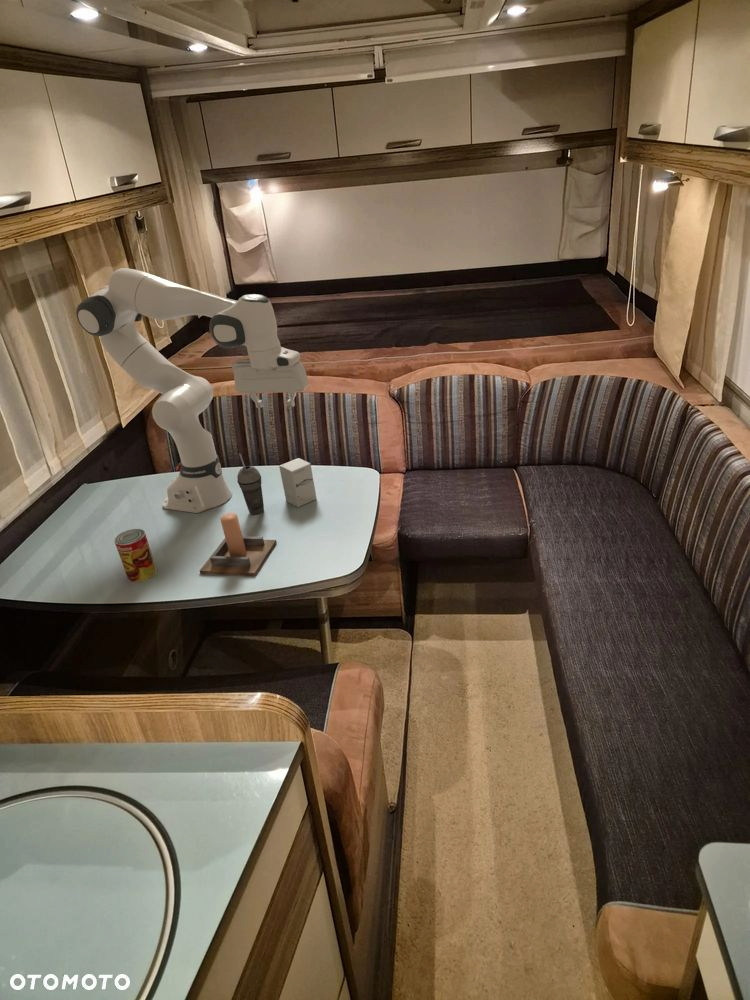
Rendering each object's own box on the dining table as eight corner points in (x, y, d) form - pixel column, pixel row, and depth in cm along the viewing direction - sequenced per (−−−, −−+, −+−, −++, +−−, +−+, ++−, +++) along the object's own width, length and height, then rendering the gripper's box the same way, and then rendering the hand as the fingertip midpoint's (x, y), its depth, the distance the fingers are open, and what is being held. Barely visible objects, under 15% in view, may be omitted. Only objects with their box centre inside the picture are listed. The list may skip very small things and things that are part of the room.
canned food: (122, 575, 175) (108, 538, 169) (148, 562, 179) (135, 525, 174) (136, 585, 170) (123, 547, 164) (162, 571, 174) (150, 533, 169)
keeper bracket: (200, 573, 171) (197, 563, 169) (225, 541, 185) (222, 531, 183) (255, 576, 167) (252, 565, 165) (276, 542, 181) (274, 532, 179)
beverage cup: (263, 518, 194) (250, 458, 185) (241, 518, 196) (227, 459, 186) (271, 506, 200) (259, 448, 191) (250, 506, 202) (236, 448, 193)
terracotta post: (227, 559, 174) (217, 521, 168) (234, 550, 178) (224, 512, 172) (242, 559, 173) (233, 521, 167) (249, 550, 177) (239, 513, 171)
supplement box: (298, 508, 197) (290, 471, 191) (285, 500, 203) (278, 465, 197) (317, 499, 201) (311, 463, 195) (304, 492, 207) (298, 456, 201)
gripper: (225, 363, 170) (236, 411, 176) (297, 359, 165) (306, 409, 171) (235, 356, 175) (245, 403, 182) (305, 352, 170) (313, 401, 177)
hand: (275, 406), depth 176 cm, fingers open, 8 cm apart
